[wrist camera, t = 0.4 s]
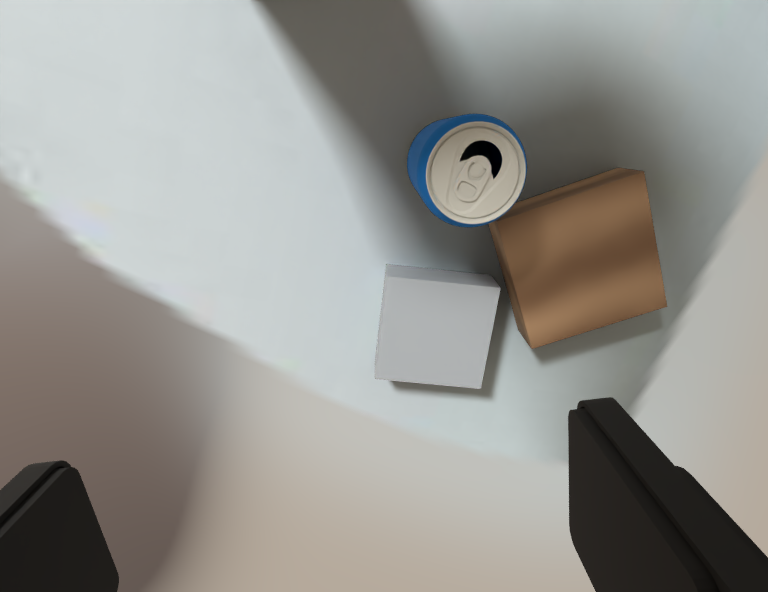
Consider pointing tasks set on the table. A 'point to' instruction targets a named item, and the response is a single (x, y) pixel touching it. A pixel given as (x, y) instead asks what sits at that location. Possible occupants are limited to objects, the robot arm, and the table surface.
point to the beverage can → (467, 169)
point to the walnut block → (580, 257)
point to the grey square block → (435, 326)
